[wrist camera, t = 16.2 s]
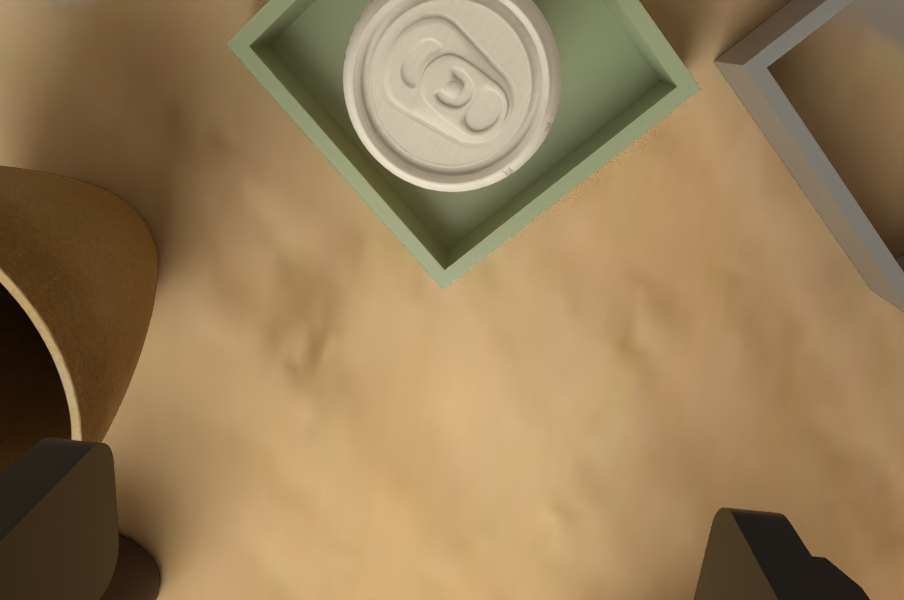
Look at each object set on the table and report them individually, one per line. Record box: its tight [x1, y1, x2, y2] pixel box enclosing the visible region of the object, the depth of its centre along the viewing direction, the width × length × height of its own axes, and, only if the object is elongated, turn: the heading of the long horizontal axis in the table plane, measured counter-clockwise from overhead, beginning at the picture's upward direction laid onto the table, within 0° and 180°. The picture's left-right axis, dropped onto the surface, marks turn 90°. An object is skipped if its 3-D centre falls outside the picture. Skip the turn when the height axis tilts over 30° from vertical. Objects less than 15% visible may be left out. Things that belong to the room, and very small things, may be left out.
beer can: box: [343, 0, 562, 192], centre depth 26 cm, size 6×6×15 cm
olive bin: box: [226, 0, 701, 290], centre depth 32 cm, size 14×14×4 cm
